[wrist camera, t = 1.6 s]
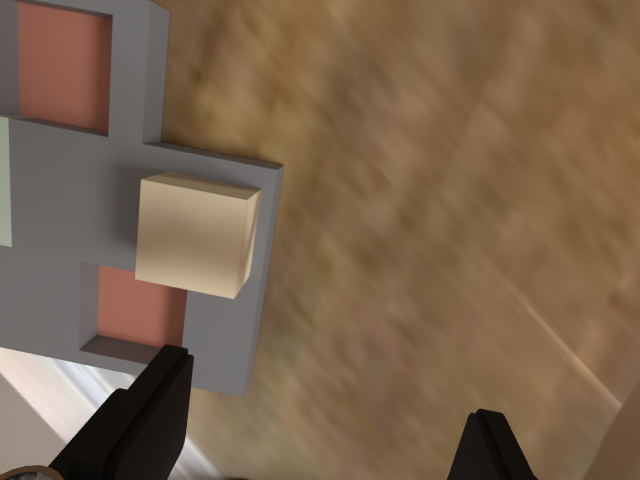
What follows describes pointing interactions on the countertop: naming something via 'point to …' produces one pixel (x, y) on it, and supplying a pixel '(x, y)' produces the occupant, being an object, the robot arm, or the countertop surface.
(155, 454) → the robot arm
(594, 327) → the countertop surface
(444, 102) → the countertop surface
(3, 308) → the board
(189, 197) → the birch block
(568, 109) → the countertop surface
